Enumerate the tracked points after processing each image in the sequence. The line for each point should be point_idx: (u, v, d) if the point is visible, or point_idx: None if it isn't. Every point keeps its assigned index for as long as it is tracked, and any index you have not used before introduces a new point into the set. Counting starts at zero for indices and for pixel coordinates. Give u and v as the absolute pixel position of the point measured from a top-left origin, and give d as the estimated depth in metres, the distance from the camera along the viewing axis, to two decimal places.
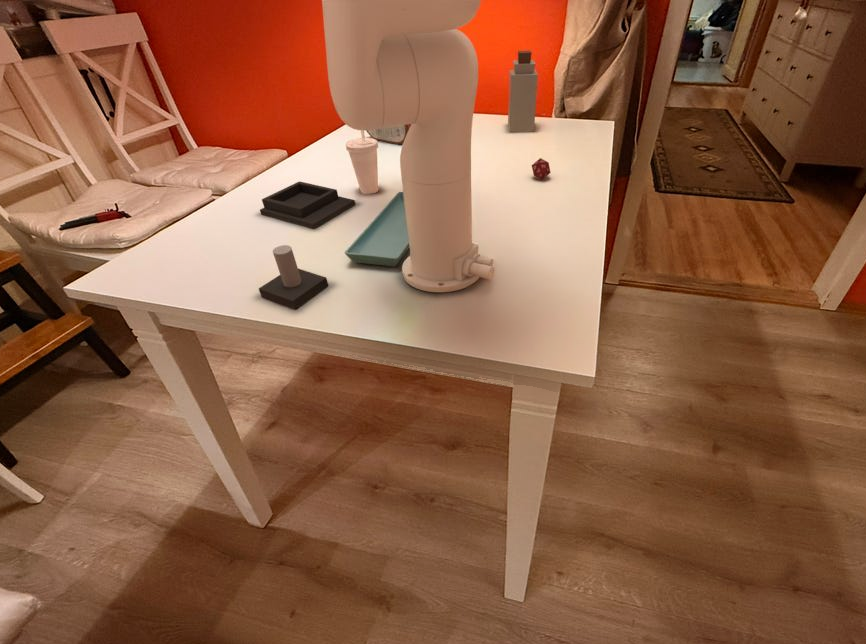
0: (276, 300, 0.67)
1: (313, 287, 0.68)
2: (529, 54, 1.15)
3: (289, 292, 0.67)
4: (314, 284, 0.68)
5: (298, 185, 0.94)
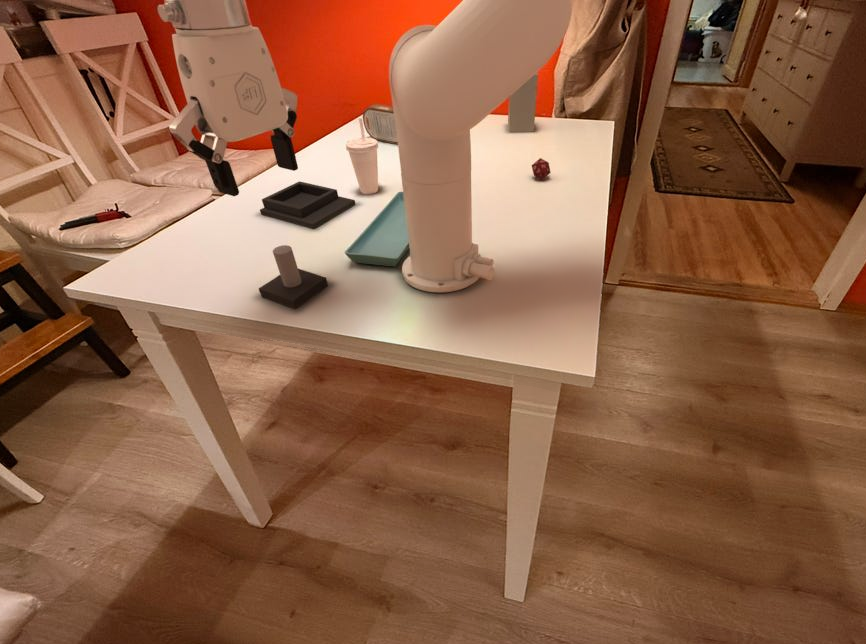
0: (276, 300, 0.67)
1: (313, 287, 0.68)
2: None
3: (289, 292, 0.67)
4: (314, 284, 0.68)
5: (298, 185, 0.94)
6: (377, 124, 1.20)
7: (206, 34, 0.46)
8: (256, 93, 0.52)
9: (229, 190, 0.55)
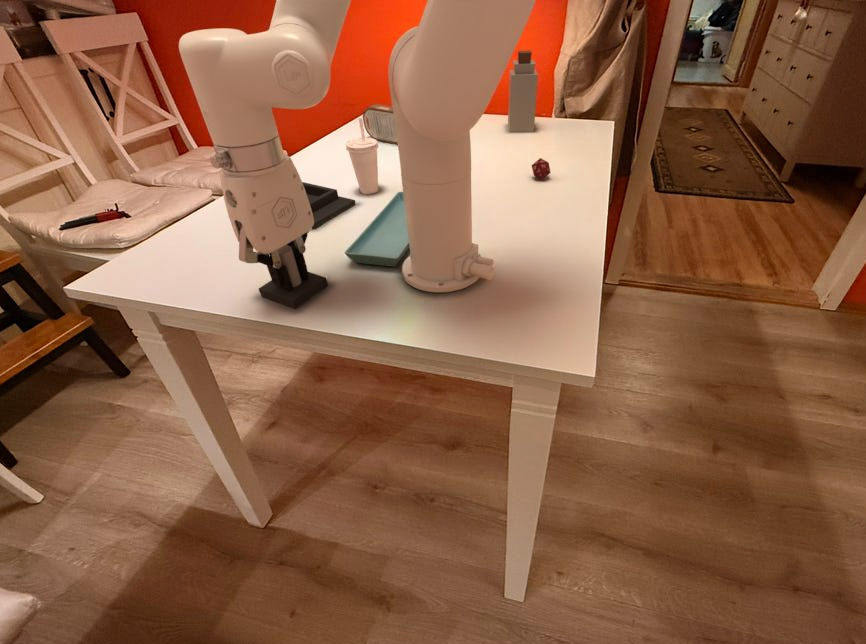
0: (276, 300, 0.67)
1: (313, 287, 0.68)
2: (529, 54, 1.15)
3: (289, 292, 0.67)
4: (314, 284, 0.68)
5: None
6: (377, 124, 1.20)
7: (249, 175, 0.54)
8: (288, 210, 0.60)
9: (285, 286, 0.67)
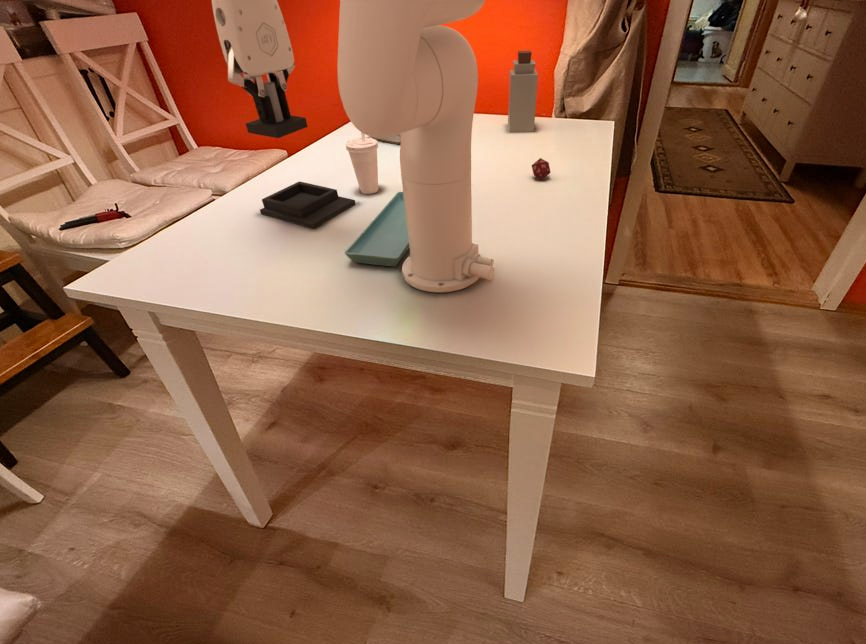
0: (261, 132, 0.77)
1: (294, 122, 0.77)
2: (529, 54, 1.15)
3: (272, 124, 0.76)
4: (294, 120, 0.78)
5: (298, 185, 0.94)
6: None
7: None
8: (271, 39, 0.70)
9: (269, 119, 0.76)
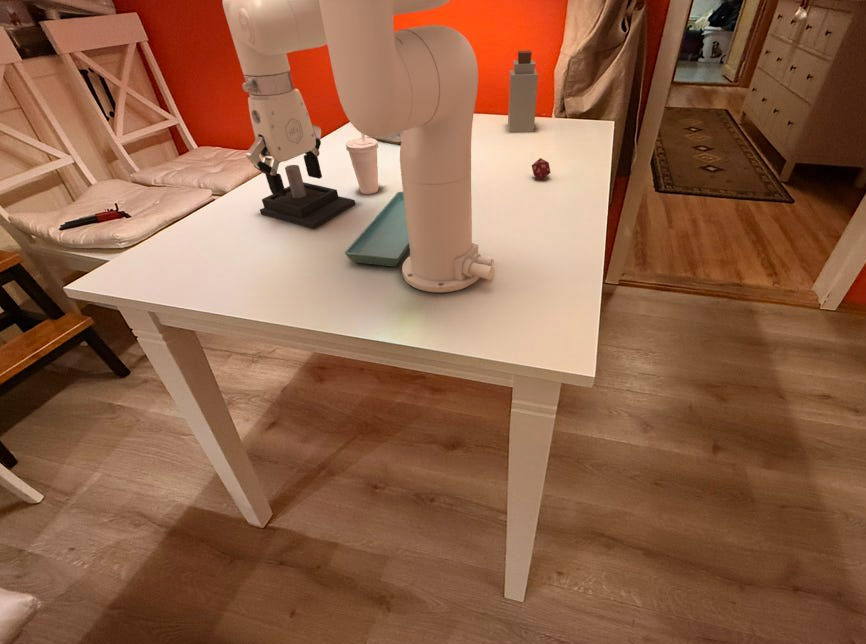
0: None
1: None
2: (529, 54, 1.15)
3: (297, 201, 0.89)
4: (316, 196, 0.90)
5: None
6: None
7: (269, 98, 0.76)
8: (297, 130, 0.82)
9: (279, 192, 0.85)
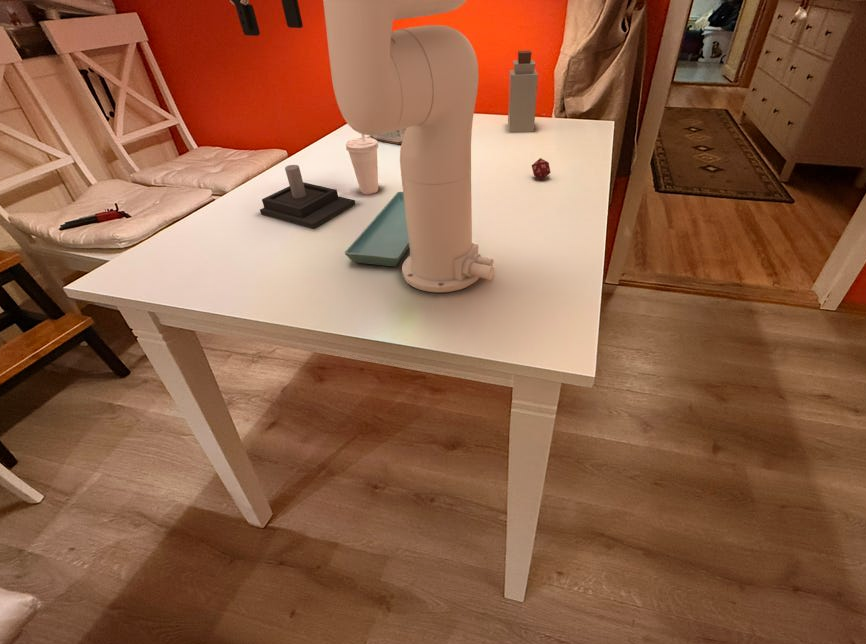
0: None
1: None
2: (529, 54, 1.15)
3: (297, 201, 0.89)
4: (316, 196, 0.90)
5: None
6: None
7: None
8: None
9: (252, 31, 0.74)
